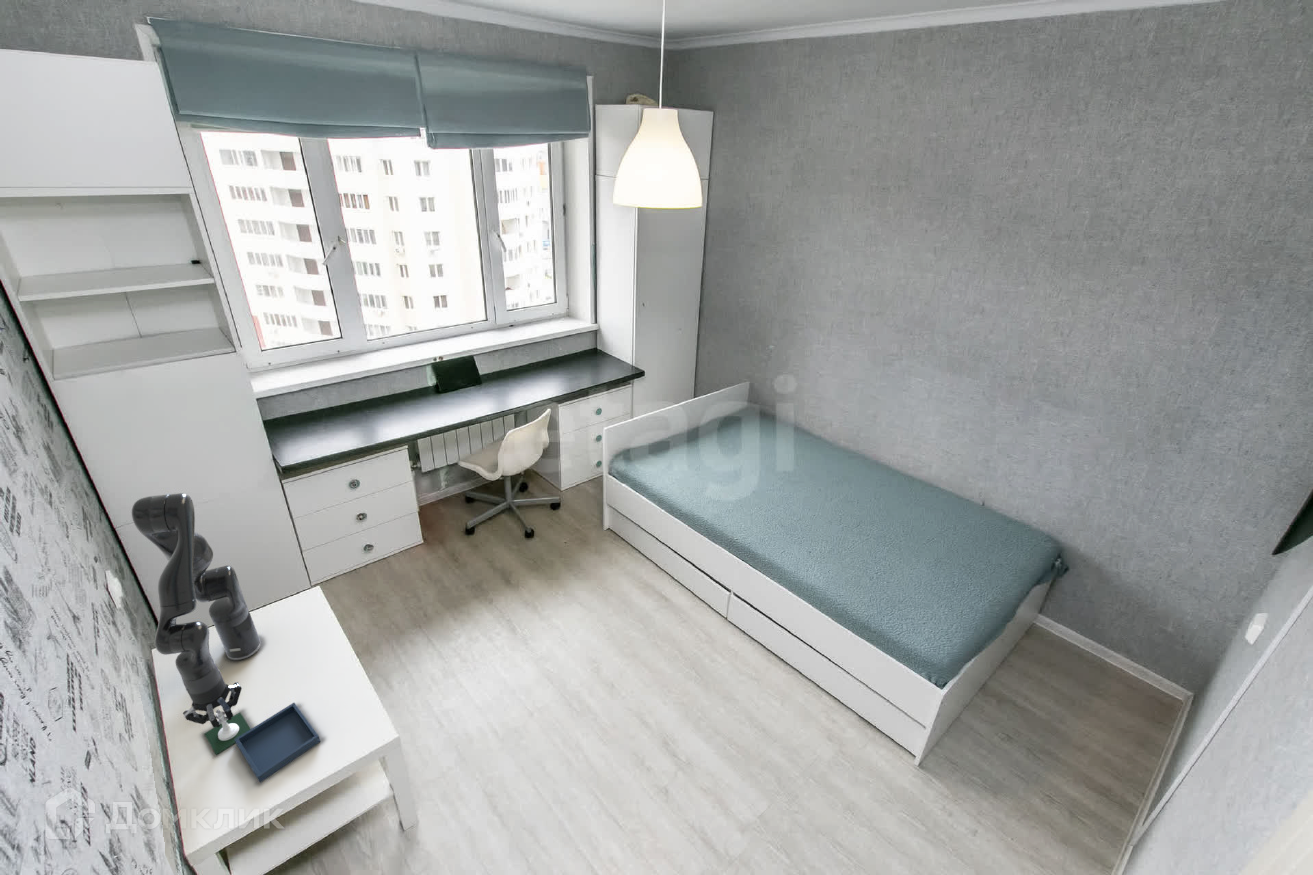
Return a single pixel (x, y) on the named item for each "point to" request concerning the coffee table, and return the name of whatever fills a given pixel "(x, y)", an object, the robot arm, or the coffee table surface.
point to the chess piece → (226, 727)
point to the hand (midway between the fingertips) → (223, 721)
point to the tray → (277, 741)
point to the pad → (223, 745)
